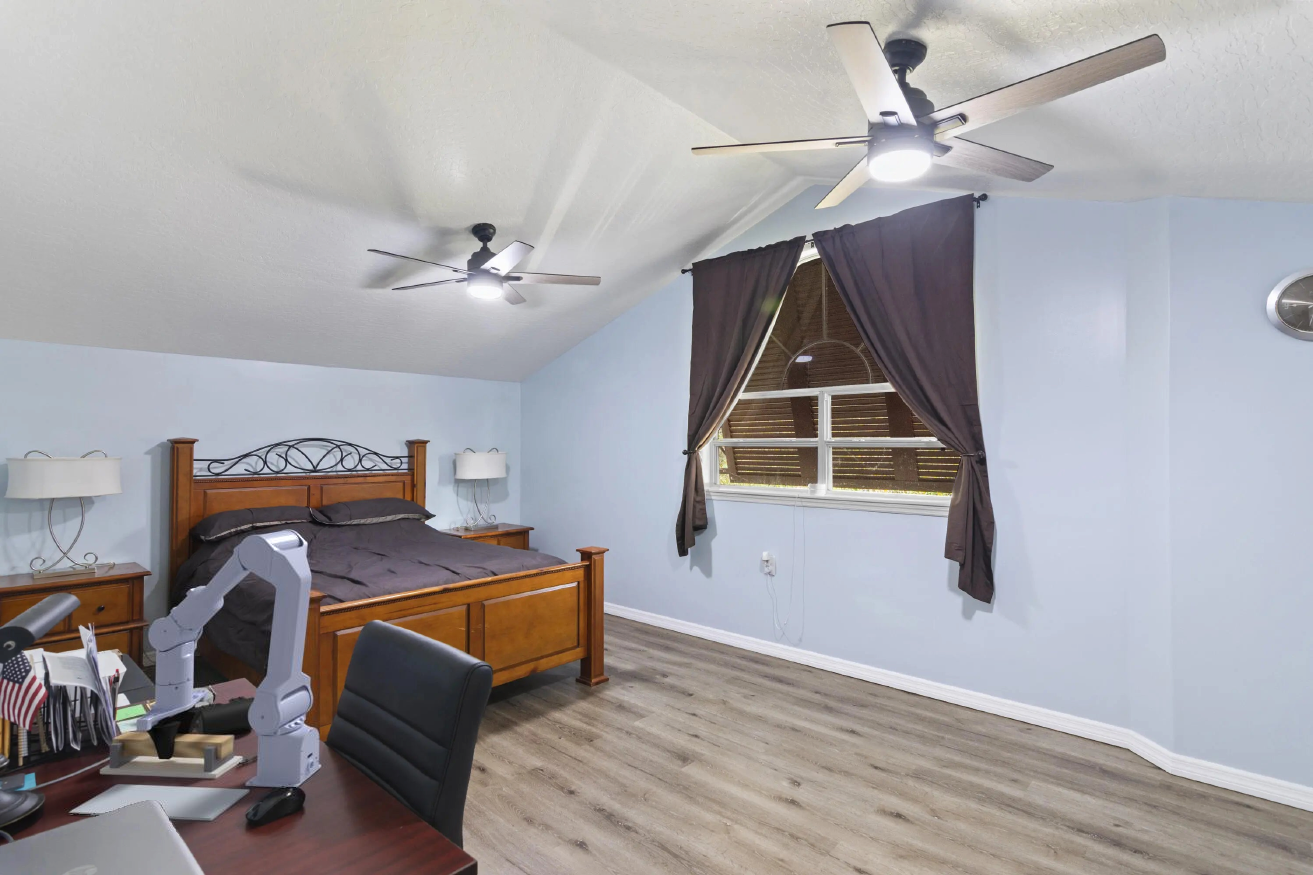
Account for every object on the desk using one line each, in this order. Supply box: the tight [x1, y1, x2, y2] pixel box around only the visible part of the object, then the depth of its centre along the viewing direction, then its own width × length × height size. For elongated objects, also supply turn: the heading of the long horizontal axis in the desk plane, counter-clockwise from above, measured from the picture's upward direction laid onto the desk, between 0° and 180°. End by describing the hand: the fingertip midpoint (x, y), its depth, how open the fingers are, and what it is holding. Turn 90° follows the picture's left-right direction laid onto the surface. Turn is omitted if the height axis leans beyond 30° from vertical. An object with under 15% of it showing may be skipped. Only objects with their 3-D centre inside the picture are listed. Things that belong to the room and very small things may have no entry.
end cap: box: [194, 696, 255, 735], centre depth 138 cm, size 10×7×7 cm
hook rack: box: [99, 734, 243, 780], centre depth 124 cm, size 22×7×5 cm, turn 86°
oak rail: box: [112, 731, 233, 759], centre depth 124 cm, size 21×3×3 cm, turn 86°
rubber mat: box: [68, 783, 250, 821], centre depth 112 cm, size 24×9×1 cm, turn 86°
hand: (173, 753), depth 124 cm, fingers open, 3 cm apart
